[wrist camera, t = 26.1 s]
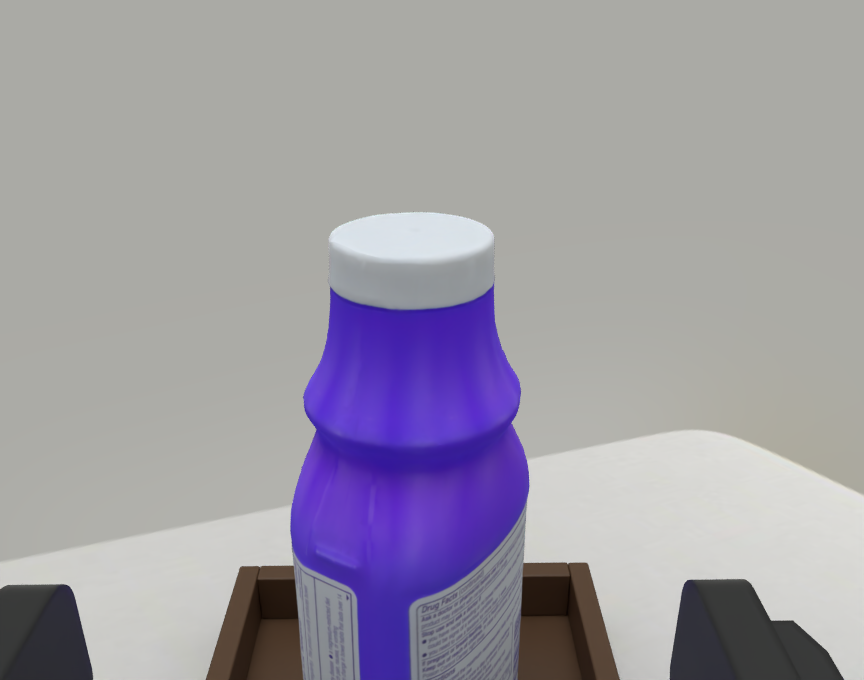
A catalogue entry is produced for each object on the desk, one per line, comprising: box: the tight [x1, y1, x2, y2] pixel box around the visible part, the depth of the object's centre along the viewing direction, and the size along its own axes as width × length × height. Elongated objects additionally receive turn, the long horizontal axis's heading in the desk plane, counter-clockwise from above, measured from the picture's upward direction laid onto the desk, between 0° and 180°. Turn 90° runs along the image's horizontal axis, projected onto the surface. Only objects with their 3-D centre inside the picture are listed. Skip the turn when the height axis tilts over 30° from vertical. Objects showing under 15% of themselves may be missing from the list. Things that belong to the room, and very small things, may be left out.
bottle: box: [290, 212, 529, 680], centre depth 23 cm, size 7×6×17 cm
